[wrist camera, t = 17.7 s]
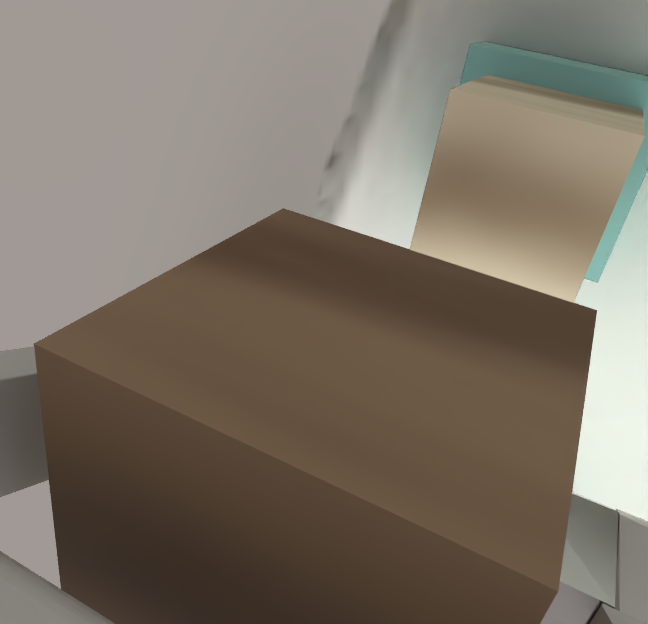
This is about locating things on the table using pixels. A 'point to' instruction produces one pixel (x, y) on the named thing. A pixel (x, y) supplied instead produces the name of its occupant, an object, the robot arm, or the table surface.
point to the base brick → (581, 82)
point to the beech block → (525, 182)
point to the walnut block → (315, 437)
